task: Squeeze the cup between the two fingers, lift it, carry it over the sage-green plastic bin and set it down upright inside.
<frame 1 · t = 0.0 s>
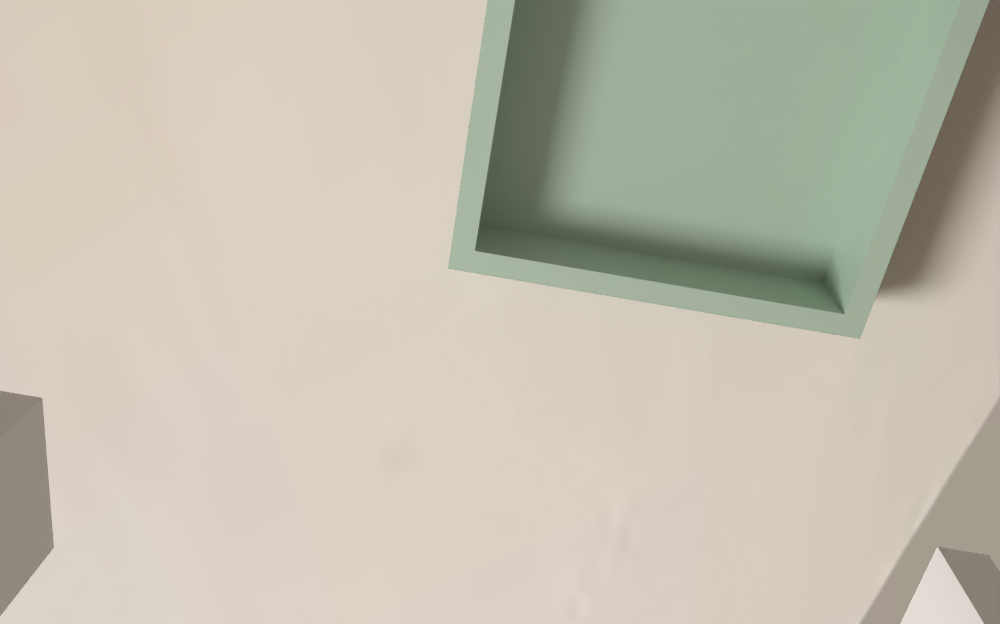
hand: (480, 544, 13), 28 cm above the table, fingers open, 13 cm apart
bin: (694, 76, 37), on the table
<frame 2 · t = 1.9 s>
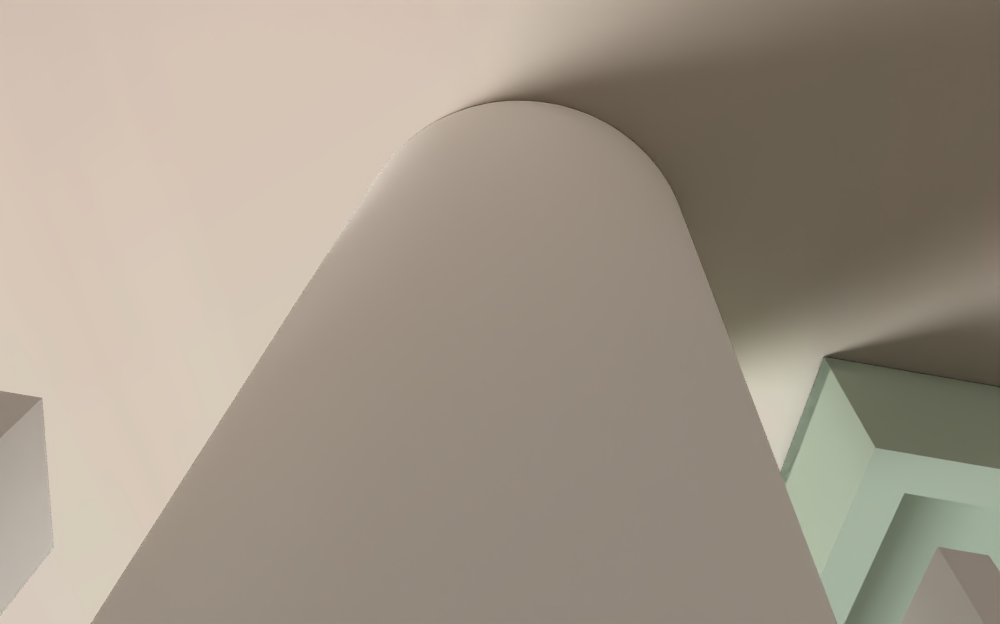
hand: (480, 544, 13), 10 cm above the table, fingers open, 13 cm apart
cup: (520, 263, 22), on the table
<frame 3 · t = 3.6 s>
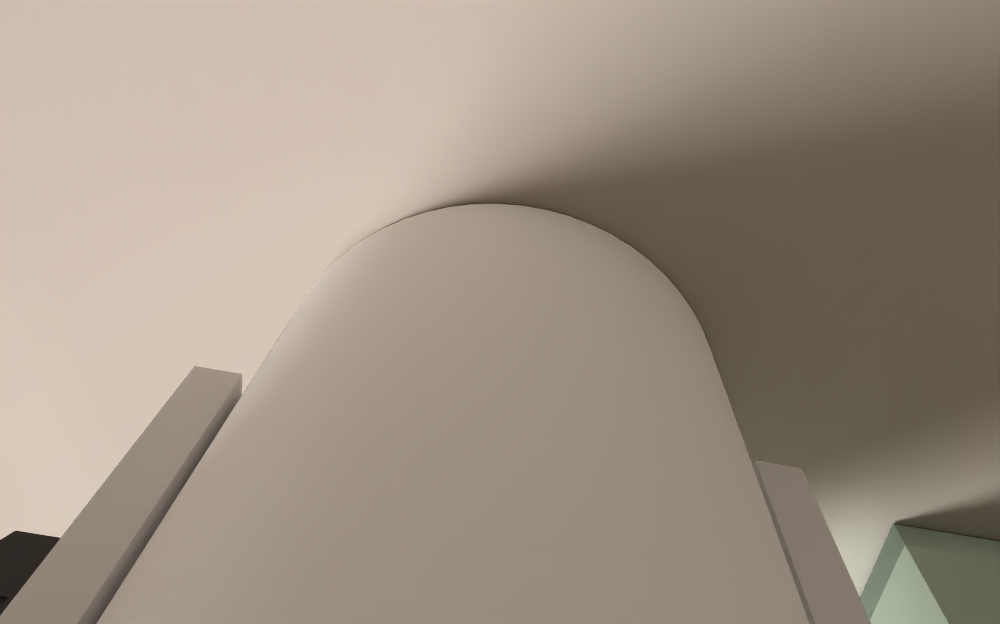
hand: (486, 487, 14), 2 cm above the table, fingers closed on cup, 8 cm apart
cup: (495, 407, 16), on the table, touching gripper
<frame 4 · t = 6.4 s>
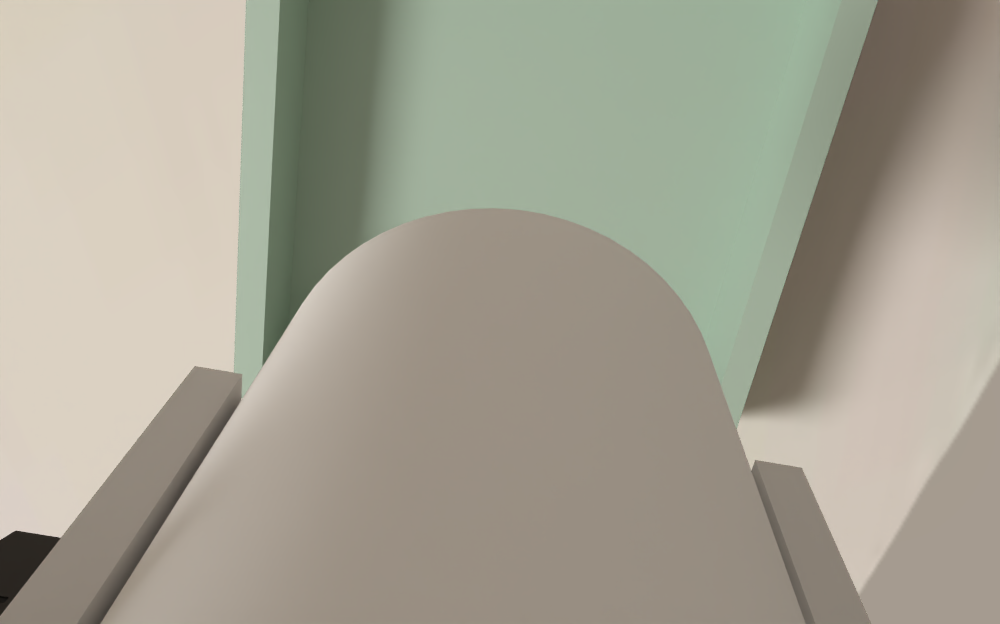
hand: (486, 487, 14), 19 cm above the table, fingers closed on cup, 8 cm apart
bin: (523, 170, 31), on the table
cup: (495, 411, 16), point 16 cm above the table, touching gripper
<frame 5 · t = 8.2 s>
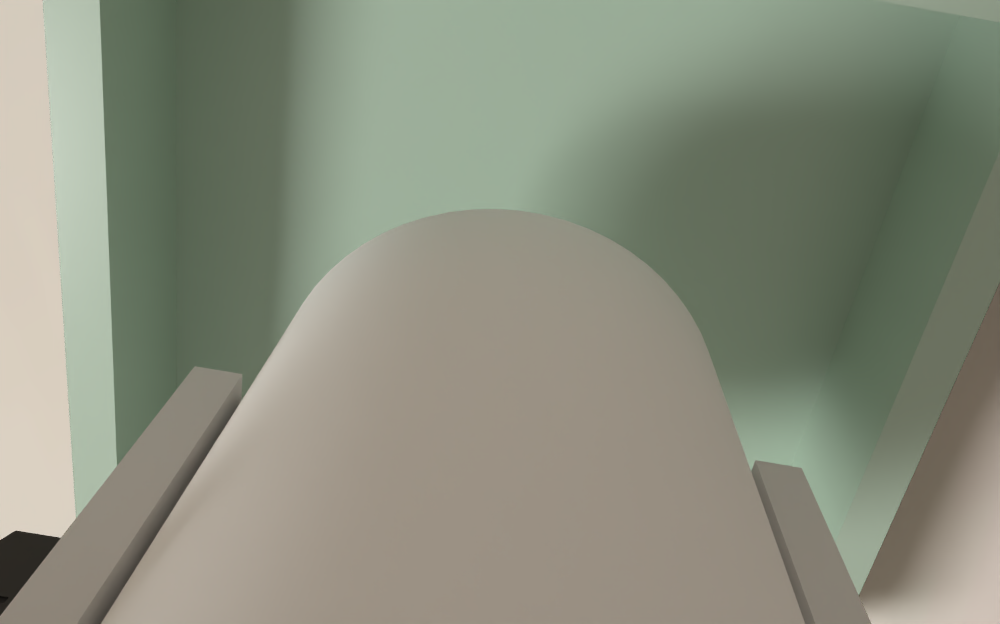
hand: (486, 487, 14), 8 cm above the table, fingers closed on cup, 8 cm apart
bin: (508, 287, 21), on the table
cup: (495, 411, 16), point 5 cm above the table, touching gripper
when the fingers open (5 cm above the table, at t = 9.7 s): cup drops 2 cm, resting on bin.
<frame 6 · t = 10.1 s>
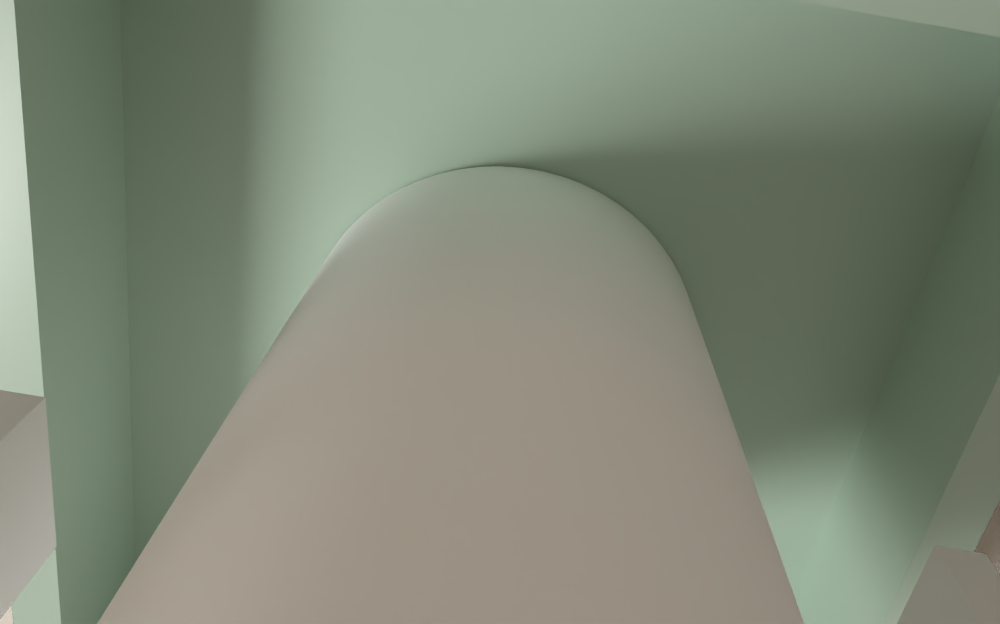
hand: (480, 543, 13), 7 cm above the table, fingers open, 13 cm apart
bin: (503, 340, 19), on the table
cup: (499, 349, 19), resting on bin
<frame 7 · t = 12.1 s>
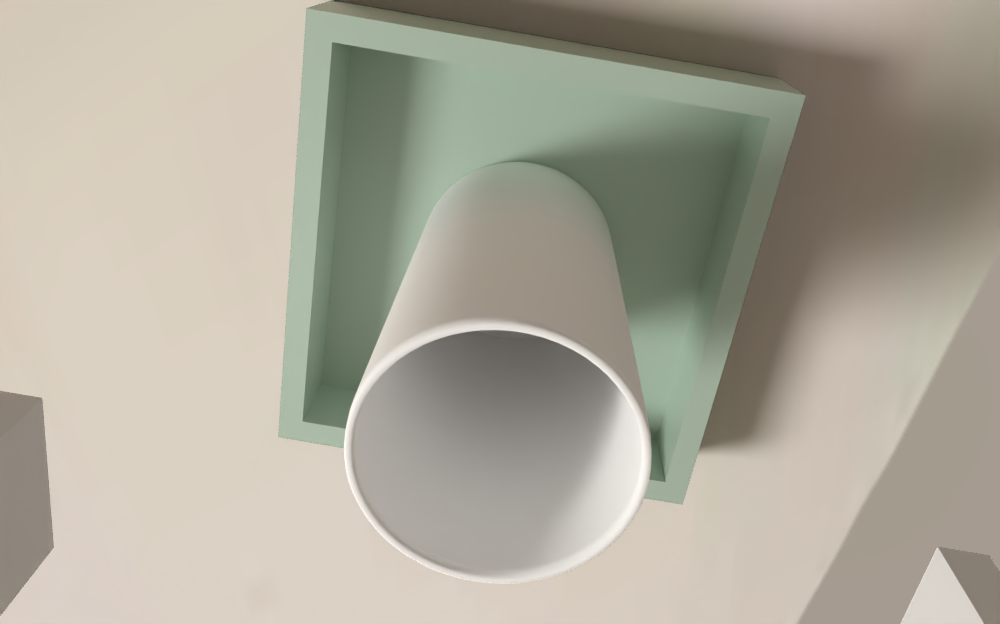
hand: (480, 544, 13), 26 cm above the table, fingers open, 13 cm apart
bin: (518, 249, 38), on the table
cup: (517, 253, 38), resting on bin
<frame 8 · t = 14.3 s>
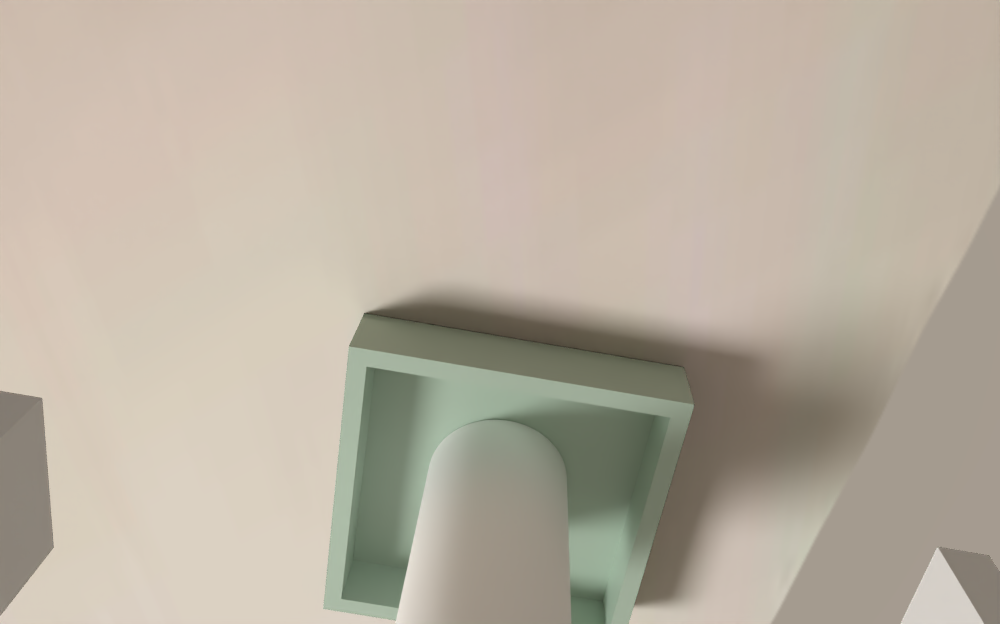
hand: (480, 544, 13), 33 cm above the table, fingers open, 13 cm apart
bin: (498, 472, 52), on the table
cup: (497, 476, 51), resting on bin
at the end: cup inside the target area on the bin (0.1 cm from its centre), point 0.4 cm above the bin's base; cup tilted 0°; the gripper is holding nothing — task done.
